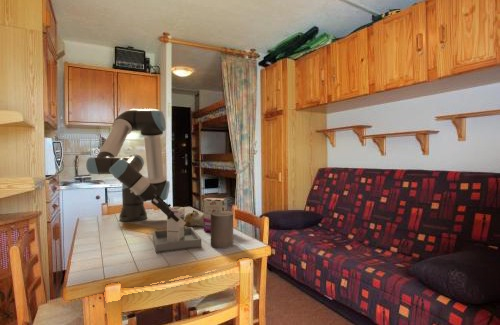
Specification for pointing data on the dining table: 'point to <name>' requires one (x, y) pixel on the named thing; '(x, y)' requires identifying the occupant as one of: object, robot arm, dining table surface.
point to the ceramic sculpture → (194, 219)
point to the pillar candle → (221, 229)
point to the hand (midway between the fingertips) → (181, 221)
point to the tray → (189, 242)
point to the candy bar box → (212, 210)
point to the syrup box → (176, 226)
